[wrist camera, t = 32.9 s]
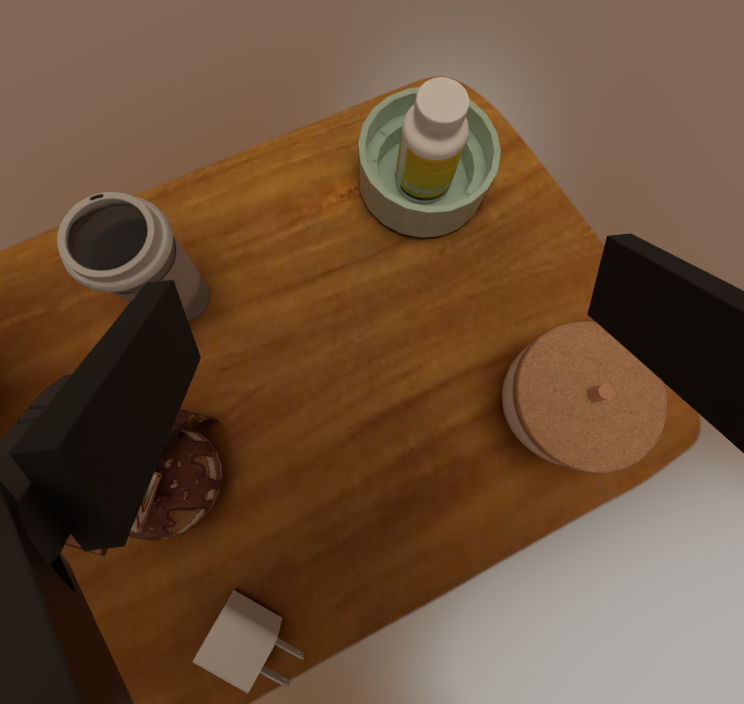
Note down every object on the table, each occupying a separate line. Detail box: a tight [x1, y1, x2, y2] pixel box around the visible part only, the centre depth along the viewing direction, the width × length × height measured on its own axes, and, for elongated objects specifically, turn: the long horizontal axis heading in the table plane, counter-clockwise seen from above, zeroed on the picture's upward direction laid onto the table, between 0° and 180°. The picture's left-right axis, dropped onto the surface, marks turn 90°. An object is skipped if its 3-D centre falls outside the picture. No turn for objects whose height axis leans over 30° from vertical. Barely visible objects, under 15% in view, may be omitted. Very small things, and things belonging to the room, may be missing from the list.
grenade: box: [65, 409, 222, 556], centre depth 28 cm, size 9×8×15 cm
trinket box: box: [502, 321, 667, 473], centre depth 33 cm, size 11×11×9 cm
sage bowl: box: [358, 87, 501, 238], centre depth 39 cm, size 12×12×5 cm
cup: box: [57, 192, 210, 320], centre depth 32 cm, size 7×7×12 cm
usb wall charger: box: [193, 590, 304, 693], centre depth 31 cm, size 4×7×4 cm, turn 60°
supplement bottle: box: [395, 77, 469, 203], centre depth 36 cm, size 5×5×10 cm
